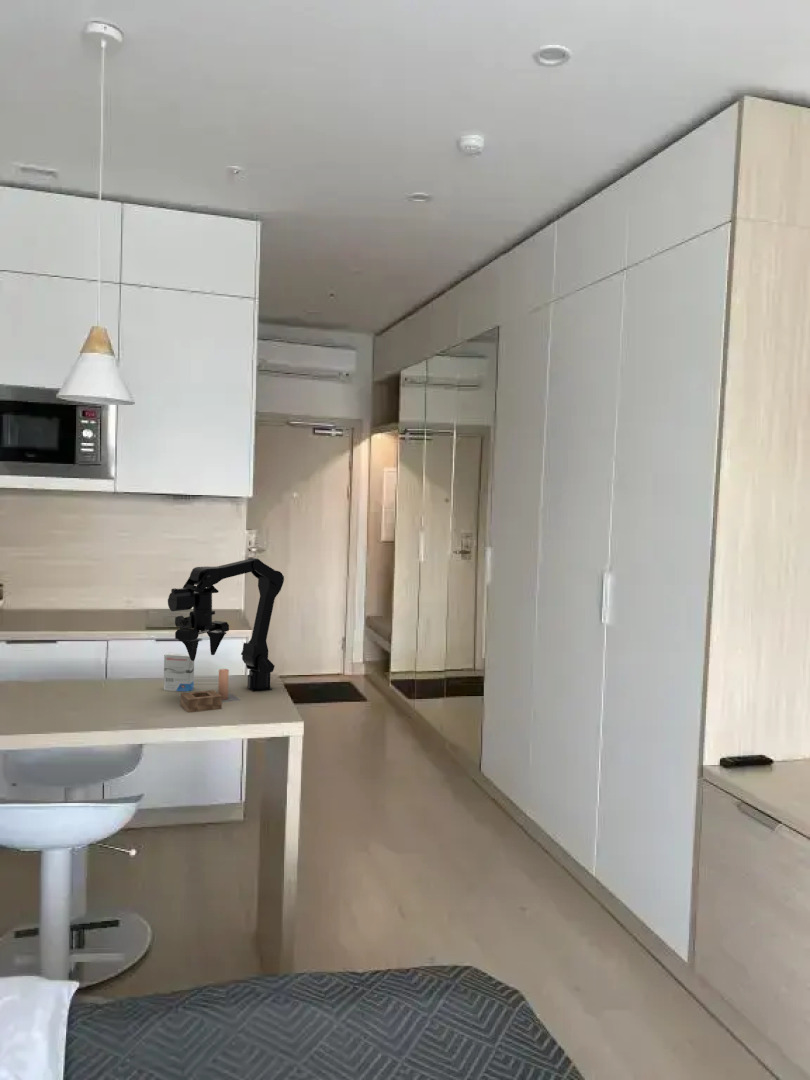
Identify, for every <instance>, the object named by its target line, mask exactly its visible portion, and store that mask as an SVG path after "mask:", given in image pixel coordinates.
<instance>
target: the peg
mask: <svg viewBox="0 0 810 1080" xmlns="http://www.w3.org/2000/svg"><path fill="white" fill-rule="evenodd" d="M229 673H230V671H229V669H227V668H221V669H219V670H218V687H217V688H218V690H217V691H218V692H217V693H218V694H219V695H221V696H222V700H227V699H228V694H229Z"/></svg>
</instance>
